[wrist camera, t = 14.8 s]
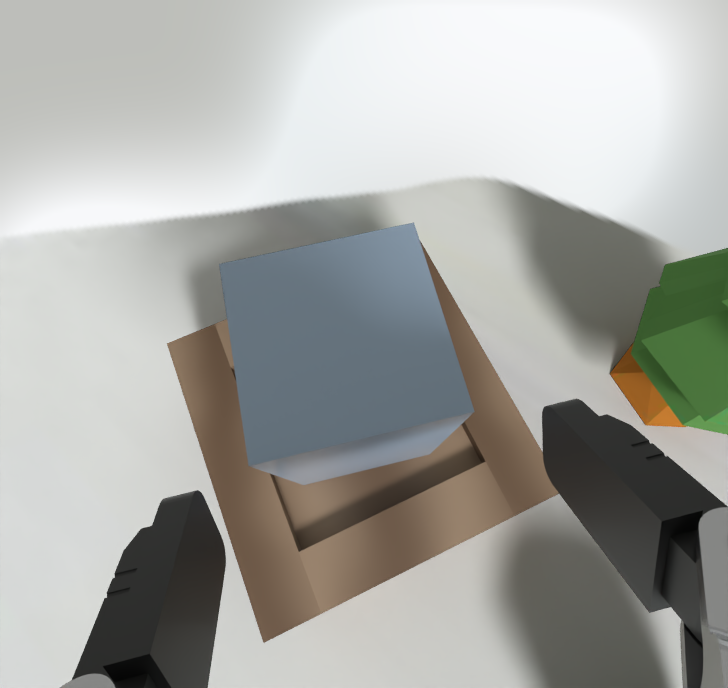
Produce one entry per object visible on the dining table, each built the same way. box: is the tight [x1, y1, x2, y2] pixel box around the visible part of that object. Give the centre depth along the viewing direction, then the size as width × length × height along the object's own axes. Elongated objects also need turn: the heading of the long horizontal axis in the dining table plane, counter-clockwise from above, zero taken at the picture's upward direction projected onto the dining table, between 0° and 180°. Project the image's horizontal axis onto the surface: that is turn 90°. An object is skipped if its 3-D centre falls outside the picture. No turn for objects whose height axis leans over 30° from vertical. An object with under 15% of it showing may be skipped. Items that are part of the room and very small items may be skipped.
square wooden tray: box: [167, 241, 559, 642], centre depth 25 cm, size 14×14×7 cm
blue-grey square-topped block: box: [219, 223, 475, 485], centre depth 18 cm, size 6×6×10 cm
